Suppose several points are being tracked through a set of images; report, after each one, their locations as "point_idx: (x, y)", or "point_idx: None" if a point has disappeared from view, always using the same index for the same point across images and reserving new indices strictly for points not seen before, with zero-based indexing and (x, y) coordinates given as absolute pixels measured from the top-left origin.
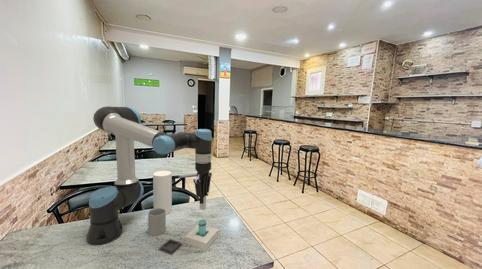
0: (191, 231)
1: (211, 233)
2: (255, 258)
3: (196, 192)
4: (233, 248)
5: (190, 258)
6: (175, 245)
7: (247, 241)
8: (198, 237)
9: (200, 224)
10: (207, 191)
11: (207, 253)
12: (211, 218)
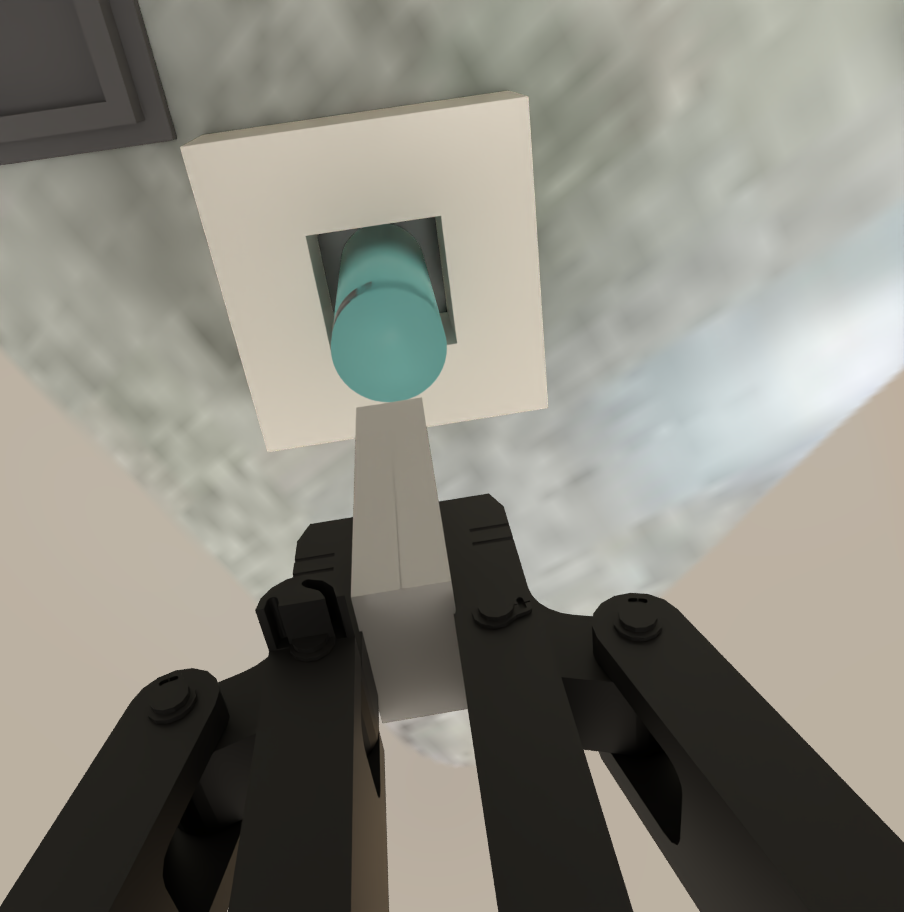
0: (323, 142)
1: (439, 390)
2: (447, 714)
3: (44, 871)
4: None
5: (107, 356)
6: (88, 66)
7: (596, 600)
8: (287, 317)
9: (333, 353)
10: (603, 760)
11: None
12: (857, 32)
